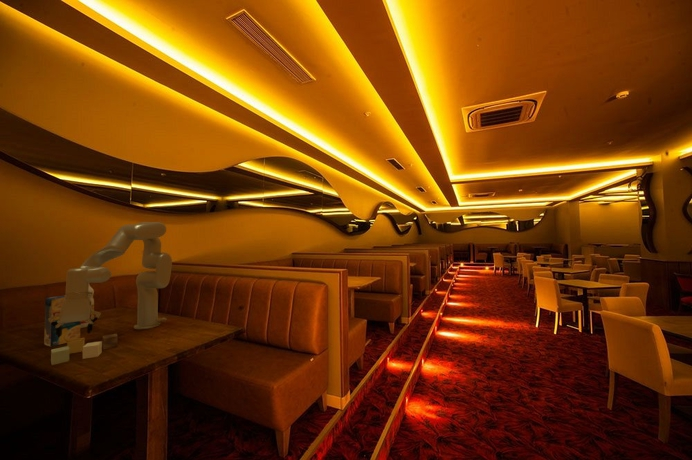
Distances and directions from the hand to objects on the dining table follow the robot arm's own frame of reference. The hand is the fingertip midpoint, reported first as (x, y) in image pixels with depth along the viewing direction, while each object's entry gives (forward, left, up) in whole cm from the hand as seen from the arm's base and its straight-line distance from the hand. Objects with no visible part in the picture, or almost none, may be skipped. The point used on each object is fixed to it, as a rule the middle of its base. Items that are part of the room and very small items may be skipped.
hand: (74, 334), depth 127 cm
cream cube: (-8, +10, -8) cm, 15 cm away
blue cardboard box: (+7, -20, -8) cm, 22 cm away
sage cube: (+2, +10, -8) cm, 13 cm away
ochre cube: (-1, -1, -8) cm, 8 cm away
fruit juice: (+4, -48, -8) cm, 48 cm away
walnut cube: (-13, +1, -8) cm, 15 cm away
